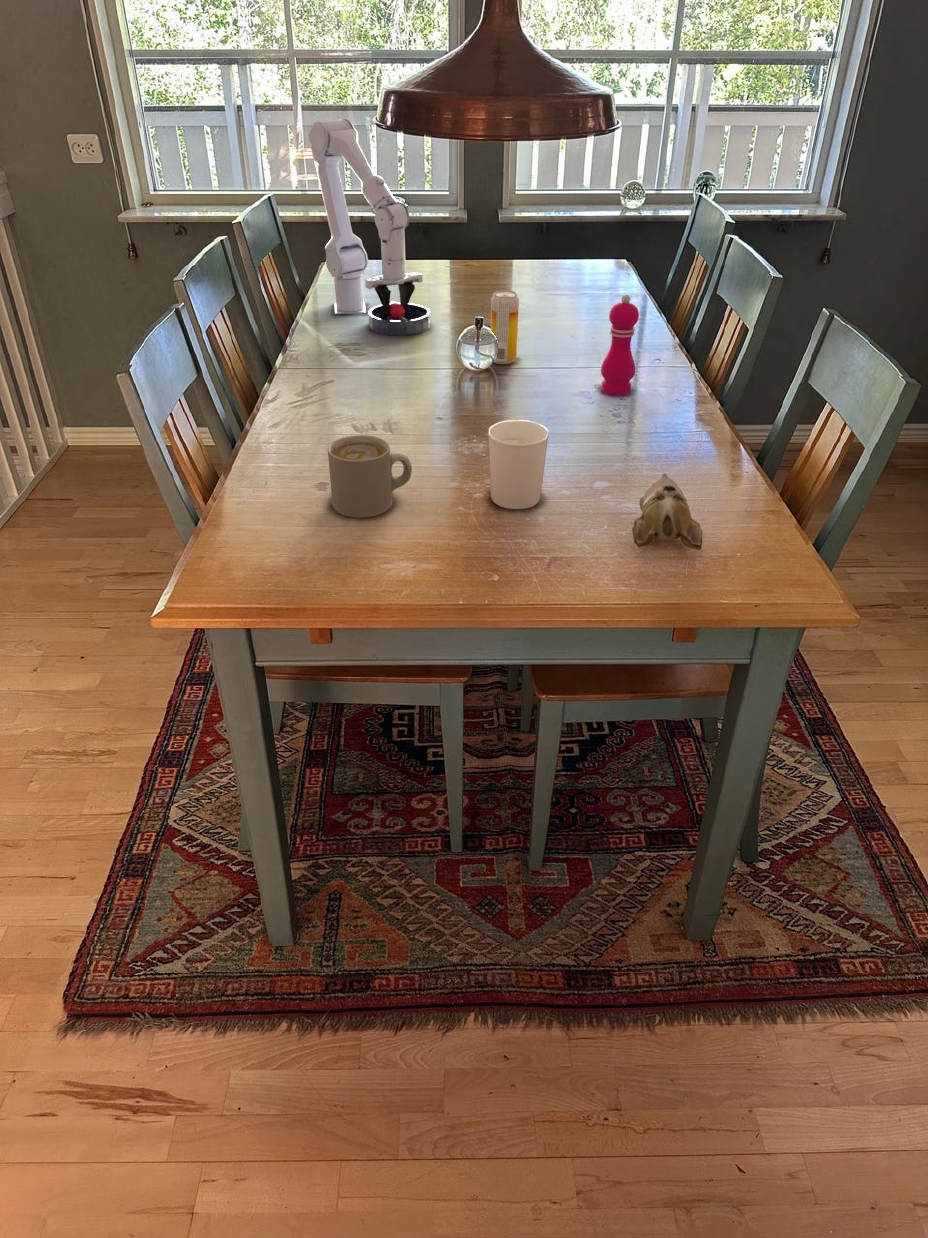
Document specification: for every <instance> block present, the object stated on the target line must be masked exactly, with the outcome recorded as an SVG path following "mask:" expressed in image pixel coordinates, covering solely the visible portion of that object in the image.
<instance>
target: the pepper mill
mask: <svg viewBox="0 0 928 1238" xmlns="http://www.w3.org/2000/svg"><path fill="white" fill-rule="evenodd" d="M620 299H621V301H620V302H617V303H614V305H613V306H612V307H611V308H610V311H609V314H608V320H609V322H610V324H611V325H610V330H609V334H610V335H611V343H610V347H609V350H608V352H607V354H606V356H605V357H604V359H603V361H602V363H601V367H600V375H601V376H602V378H603V379H602V381H601V385H600V386H601V387H600V390H601V392H602V393H604V394H605V395H609V396H615V397H619V396H620V397H621V396H626V395H629V394H630V393H631V390H632V382H631V380H632V379H633V378H634V377H635V375H636V363H635V359H634V357H633V353H632V348H631V344H632V338H633V336H634V335H635V331H636V328H635V325H636V324H637V323H638V322H639V318H640V312H639V309H638V306H637V305H635V304H634V303H631V297H630V296H629V295H628V294H624V295H622V297H621V298H620Z"/></svg>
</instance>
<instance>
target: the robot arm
mask: <svg viewBox="0 0 928 1238" xmlns="http://www.w3.org/2000/svg"><path fill="white" fill-rule="evenodd" d="M308 140H309V145H310V150H311V153H312V157H313V158H312V159H313V161H314V165H315V170H316V174H317V178H318V183H319V187H320V191H321V196H322V200H323V201H322V202H323V205H324V210H325V213H326V218H327V223H328V227H329V231H330V235H331V236H330V237H331V238H330V240H329V241H328V242H327V243H326V245H325V247H324V251H325V265H326V268H327V270H328V272H329V274H330V275H331V277H332V278H333V280H334V281H333V282H334V294H335V297H334V298H335V302H334V314H335V315H343V314H344V315H345V314H366V313H367V310H366V302H365V301H364V288H363V287H364V285H363V275H365V270H366V269H367V268H368V264H369V257H368V253H367V252H366V251H367V250H365V248H364V245H363V242H362V239H361V238H360V237H358V235H356V234H354V233H353V229H352V225H351V218H350V215H349V210H348V205H347V201H346V196H345V192H344V188H343V183H342V178H341V174H340V169H339V165H340V162H341V160H342V159H344V160H345V161H346V163H347V164H348V165H349V167H350V169H351V170H352V171H353V173H354V174H355V176H356V177H357V178H358V179H359V181H360V183H361V190H360V191H361V193H362V195H363V196H364V199H366V201H367V203H368V204H369V206H370V208H371V209H372V210H373V212H374V214H375V216H374V223H375V226H376V228H377V231H378V237H379V239H380V250H381V275H377V276H374V277H373V276H372V277H370V278H365V279H364V282H365V283H364V284H365V288H366V289H368V290H372V289H373V288H374V289H373V290H375V292H376V295H377V296H378V298H379V301H380V303H381V304H380V305H382V307H383V311H384V315H385V316H387V317H390V302H391V293H392V291H391V290H390V289H389V286H398V291H399V292H398V293H399V303H400V305H402V306H403V308H404V310H405V314H406V313H407V308H408V304H410V300H411V297H412V295H413V293H414V292H415V289H416V285H415V284H414V283H423V274H422V273H421V272H406V243H405V242H406V240H405V239H406V236H405V235H406V234H405V233H406V232H405V231H406V230H405V229H406V228H407V227H408V226H409V223H410V212H409V209H408V207H407V205H406V204H405V203H404V202H402V201H399V200H398V199H397V198H395V197H394V195H393V193H392V192H391V190H390V189H389V187H388V185H387V184H386V181H385V179H384V178H383V177H382V176H381V175H377V174H374V171H373V170H372V168H371V166H370V164H369V162H368V160H367V158H366V156H365V154H364V153H363V150H362V149H361V146H360V144H359V133H358V131H357V129H356V128H355V126H354V124H353V122H352V120H350V119H348V118H341V119H335V120H326V121H314V122H313V124H312V125H311V127H310V130H309V133H308ZM343 247H346V248H343Z"/></svg>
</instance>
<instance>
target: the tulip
mask: <svg viewBox="0 0 928 1238" xmlns="http://www.w3.org/2000/svg"><path fill="white" fill-rule="evenodd" d="M399 303H400V302H397V301H390V318H392V319H394V320H401V321H407V320H406V319H405V318H404V317H403V316H404V314H405V310H404V308H403V306H402V305H400V304H399Z"/></svg>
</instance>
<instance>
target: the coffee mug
mask: <svg viewBox="0 0 928 1238" xmlns="http://www.w3.org/2000/svg"><path fill="white" fill-rule="evenodd" d="M327 456H328V457H327V458H328V469H329V470H328V471H329V481H330V492H331V493H330V494H331V504H332V508H333V510H334V511H335V512H337V513H338V514H341V515H342V516H345V517H349V518H357V519H358V518H372V517H376V516H379V515H382V514H384V513H385V512H387V511H389V510H390V508H391V507H392V506H393V499H392V494H393V492H394V491H395V490H396V489H399V488H401V487H403V486H404V485H406V484H407V483H408V482H409V481H410V479H411V476H412V471H413V468H412V462H411V460H410V457H409V456H408V455H407V454H406V453H404V452H402V451H401V452H399V451H391V446H390V443H389V442H388V441H386V440H385V439H383V438H380V437H379V436H378V437H377V436H374V435H367V434H358V435H357V434H356V435H349V436H344V437H340V438H337V439H336V440H334V441H332V442H331V443H330V444H329V446H328V447H327ZM396 462H400V463H401V464H402V466H403V470H402V473H401V475H400V476H394V475H393V471H392V469H393V465H394V464H395V463H396Z"/></svg>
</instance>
